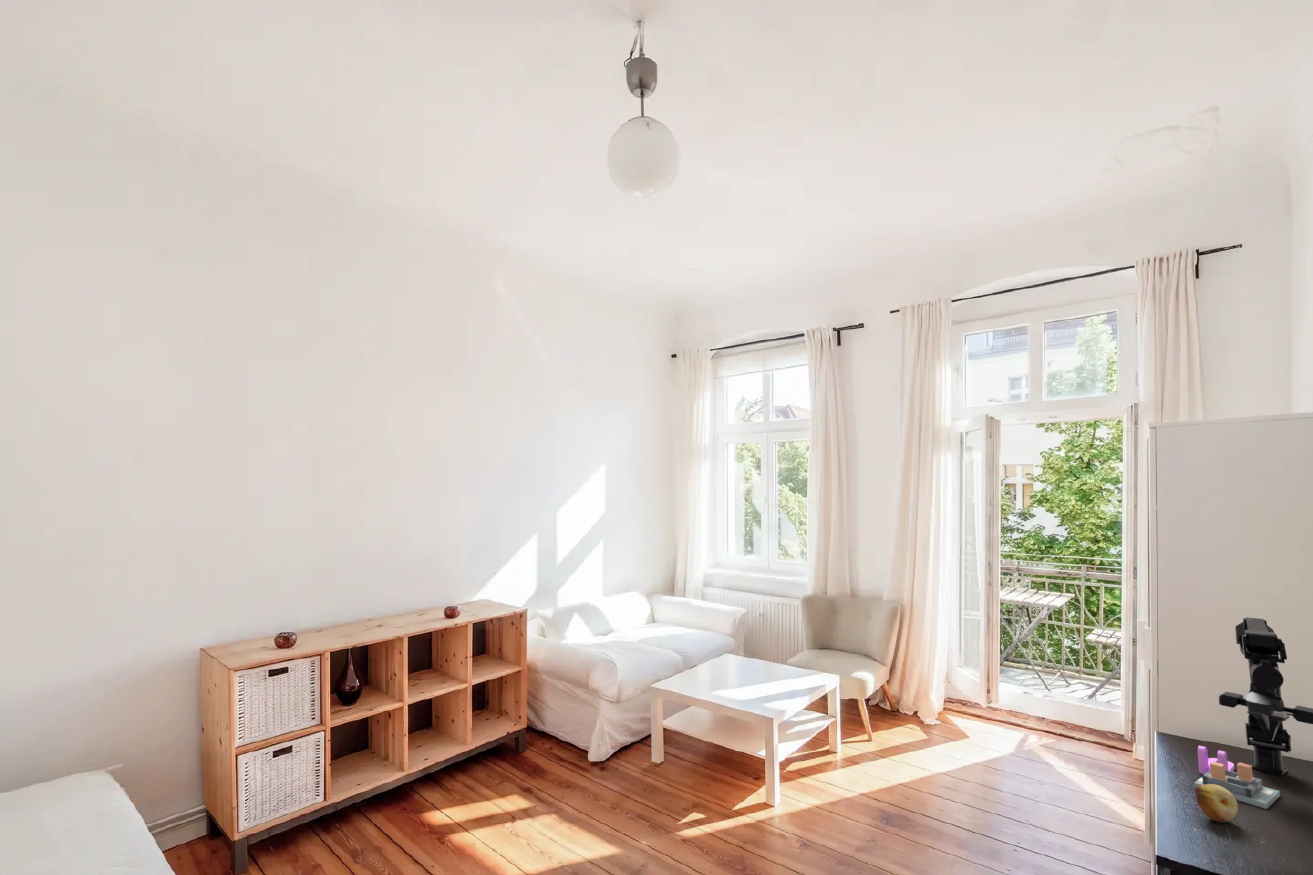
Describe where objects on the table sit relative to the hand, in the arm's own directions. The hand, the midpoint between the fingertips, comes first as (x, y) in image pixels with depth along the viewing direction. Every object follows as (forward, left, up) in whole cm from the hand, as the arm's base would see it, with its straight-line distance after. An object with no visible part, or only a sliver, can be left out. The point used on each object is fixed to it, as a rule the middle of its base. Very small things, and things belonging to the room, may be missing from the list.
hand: (1270, 740), depth 167 cm
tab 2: (+8, -4, -11) cm, 14 cm away
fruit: (+34, -3, -12) cm, 36 cm away
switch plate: (+11, -5, -12) cm, 17 cm away
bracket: (-2, -12, -12) cm, 17 cm away
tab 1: (+14, -8, -10) cm, 19 cm away
